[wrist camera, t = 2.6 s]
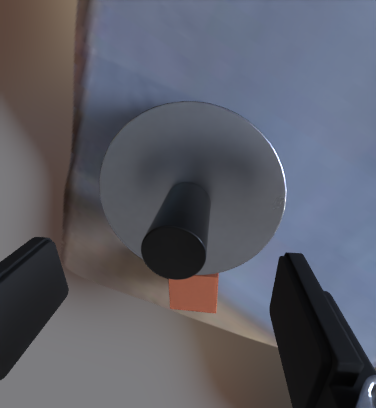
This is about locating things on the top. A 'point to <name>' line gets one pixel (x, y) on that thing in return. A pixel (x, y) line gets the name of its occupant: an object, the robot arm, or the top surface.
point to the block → (194, 293)
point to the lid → (192, 189)
